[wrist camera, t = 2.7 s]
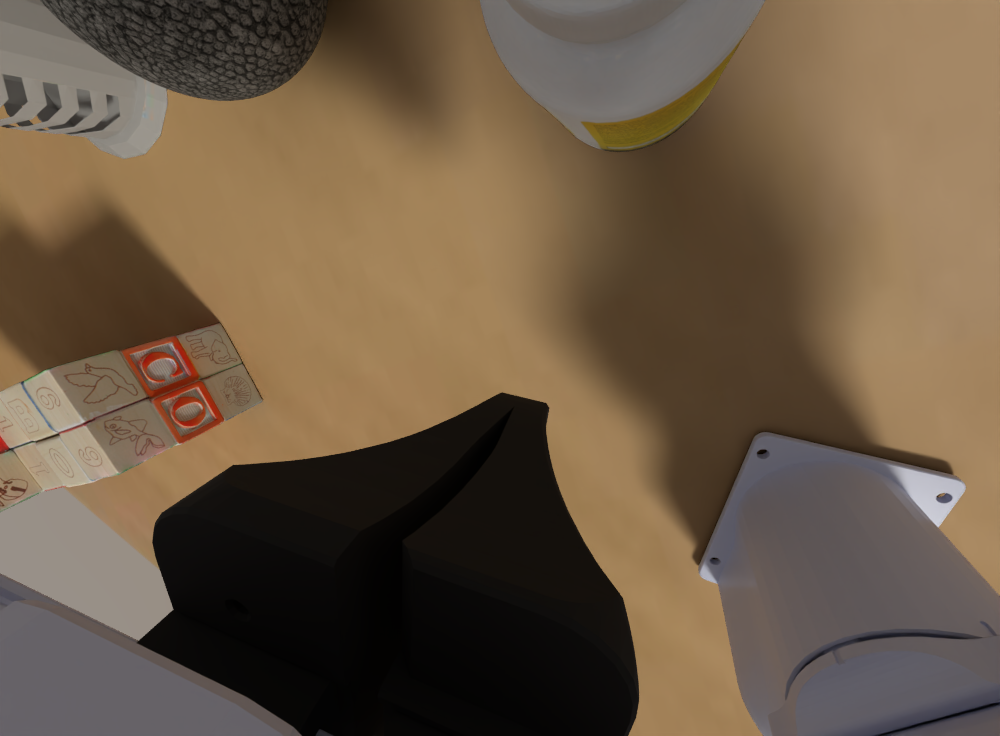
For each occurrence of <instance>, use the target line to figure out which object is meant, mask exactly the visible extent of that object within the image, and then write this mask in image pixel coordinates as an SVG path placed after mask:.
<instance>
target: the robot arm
mask: <svg viewBox="0 0 1000 736" xmlns="http://www.w3.org/2000/svg"><path fill="white" fill-rule="evenodd" d="M548 412H549V407H548V405H547V404H546V403H544V402H540V401H535V400H531V399H527V398H523V397H519V396H514V395H510V394H506V393H500V394H498V395H496V396H494V397H492V398H490V399H488V400H486V401H484V402H483V403H481V404H479V405H477V406H475V407H473V408H471V409H469V410H467V411H465V412H463V413H461V414H460V415H458V416H456V417H453V418H451V419H449V420H447V421H444V422H442V423H440V424H438V425H435V426H433V427H431V428H429V429H426V430H423V431H421V432H418V433H415V434H413V435H410V436H407V437H404V438H401V439H398V440H394V441H391V442H388V443H384V444H380V445H376V446H372V447H368V448H363V449H359V450H355V451H351V452H346V453H341V454H335V455H329V456H323V457H316V458H309V459H302V460H294V461H284V462H271V463H259V464H246V465H233V466H231V467H229V468H228V469H227V470H225V471H224V472H222V473H221V474H219V475H218V476H216V477H215V478H213V479H212V480H210V481H209V482H207V483H206V484H204V485H203V486H201V487H200V488H198V489H197V490H195V491H194V492H192V493H191V494H189V495H188V496H186V497H185V498H183V499H182V500H180V501H179V502H177V503H176V504H174V505H173V506H171V507H170V508H168V509H167V510H165V511H164V512H162V513H161V515H160V516H159V518H158V519H157V521H156V522H155V526H154V532H153V542H152V543H153V547H154V552H155V557H156V560H157V563H158V566H159V568H160V571H161V574H162V577H163V580H164V583H165V586H166V589H167V591H168V595H169V597H170V600H171V603H172V606H173V609H174V610H173V611H172V612H170V613H169V614H168V615H167V616H166V617H165V618H164V619H163V620H161V621H160V622H159V623H158V624H157V625H156V626H155V627H154V628H153V629H151V630H150V631H149V632H148V633H147V634H146V635H145V636H144V637H143V638H141V639H140V640H139V641H138V640H136V639H133V638H132V637H130V636H128V635H126V634H124V633H121V632H119V631H117V630H115V629H113V628H111V627H109V626H107V625H105V624H103V623H101V622H99V621H97V620H95V619H93V618H91V617H89V616H87V615H85V614H82V613H80V612H78V611H76V610H74V609H72V608H70V607H68V606H66V605H64V604H62V603H60V602H58V601H55V600H54V599H52V598H50V597H48V596H45V595H43V594H41V593H39V592H37V591H35V590H33V589H31V588H29V587H27V586H25V585H23V584H21V583H19V582H17V581H15V580H13V579H11V578H8V577H6V576H4V575H2V574H0V736H628V735H629V732H630V730H631V728H632V726H633V723H634V721H635V719H636V714H637V709H638V703H639V683H638V674H637V665H636V658H635V651H634V645H633V640H632V635H631V630H630V626H629V621H628V617H627V613H626V609H625V605H624V601H623V598H622V596H621V595H620V593H619V592H618V591H617V589H616V588H615V587H614V585H613V584H612V583H611V581H610V580H609V579H608V577H607V576H606V575H605V573H604V572H603V571H602V569H601V568H600V566H599V565H598V563H597V562H596V560H595V559H594V557H593V555H592V554H591V552H590V551H589V549H588V547H587V546H586V544H585V542H584V541H583V539H582V537H581V535H580V533H579V531H578V529H577V527H576V525H575V523H574V521H573V520H572V518H571V516H570V514H569V512H568V510H567V507H566V505H565V502H564V500H563V498H562V495H561V492H560V490H559V487H558V484H557V481H556V478H555V475H554V471H553V468H552V463H551V459H550V455H549V450H548V443H547V435H546V423H547V418H548ZM761 449H765V450H767V452H766V453H765V454H757V452H758V451H759V450H761ZM965 489H966V486H965V484H964V483H963V482H962V481H961V480H960V479H959V478H958V477H957V476H954V475H952V474H947V473H943V472H939V471H934V470H930V469H926V468H921V467H917V466H913V465H908V464H904V463H900V462H895V461H891V460H887V459H882V458H878V457H874V456H869V455H865V454H861V453H856V452H852V451H848V450H843V449H839V448H835V447H830V446H826V445H822V444H817V443H813V442H809V441H804V440H800V439H796V438H791V437H787V436H783V435H778V434H774V433H770V432H762V433H759V434H757V435H756V436H755V437H754V438H753V441H752V443H751V445H750V448H749V450H748V452H747V455H746V457H745V459H744V462H743V464H742V466H741V469H740V471H739V473H738V476H737V478H736V480H735V483H734V485H733V487H732V490H731V492H730V494H729V497H728V499H727V501H726V504H725V506H724V508H723V511H722V513H721V515H720V518H719V520H718V522H717V525H716V527H715V529H714V532H713V534H712V536H711V539H710V541H709V543H708V546H707V548H706V550H705V553H704V555H703V557H702V560H701V562H700V564H699V568H698V570H699V574H700V576H701V577H702V578H703V579H705V580H708V581H711V582H714V583H717V584H718V586H719V591H720V596H721V601H722V606H723V611H724V616H725V621H726V626H727V631H728V636H729V641H730V646H731V651H732V656H733V661H734V667H735V672H736V677H737V682H738V686H739V689H740V693H741V696H742V699H743V701H744V703H745V706H746V708H747V710H748V712H749V714H750V715H751V717H752V719H753V721H754V722H755V724H756V725H757V727H758V729H759V730H760V732H761V733H762V734H763V736H1000V596H999V594H998V593H997V592H996V591H995V590H994V589H993V588H992V587H991V586H990V585H989V583H988V582H987V581H986V580H985V579H984V578H983V577H982V576H981V575H980V573H979V572H978V571H977V570H976V569H975V568H974V567H973V566H972V565H971V564H970V562H969V561H968V560H967V559H966V558H965V557H964V556H963V555H962V554H961V552H960V551H959V550H958V549H957V548H956V547H955V546H954V545H953V544H952V543H951V541H950V540H949V539H948V538H947V537H946V536H945V535H944V534H943V533H942V531H941V530H940V529H939V528H938V527H939V526H940V525H941V523H942V522H943V520H944V519H945V518H946V516H947V515H948V514H949V512H950V511H951V509H952V508H953V507H954V505H955V504H956V502H957V501H958V500H959V498H960V497H961V496H962V494H963V493H964V491H965ZM941 493H946V494H945V495H944V496H942V497H937V496H938V495H939V494H941ZM713 557H715V558H718V559H711V558H713Z"/></svg>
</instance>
